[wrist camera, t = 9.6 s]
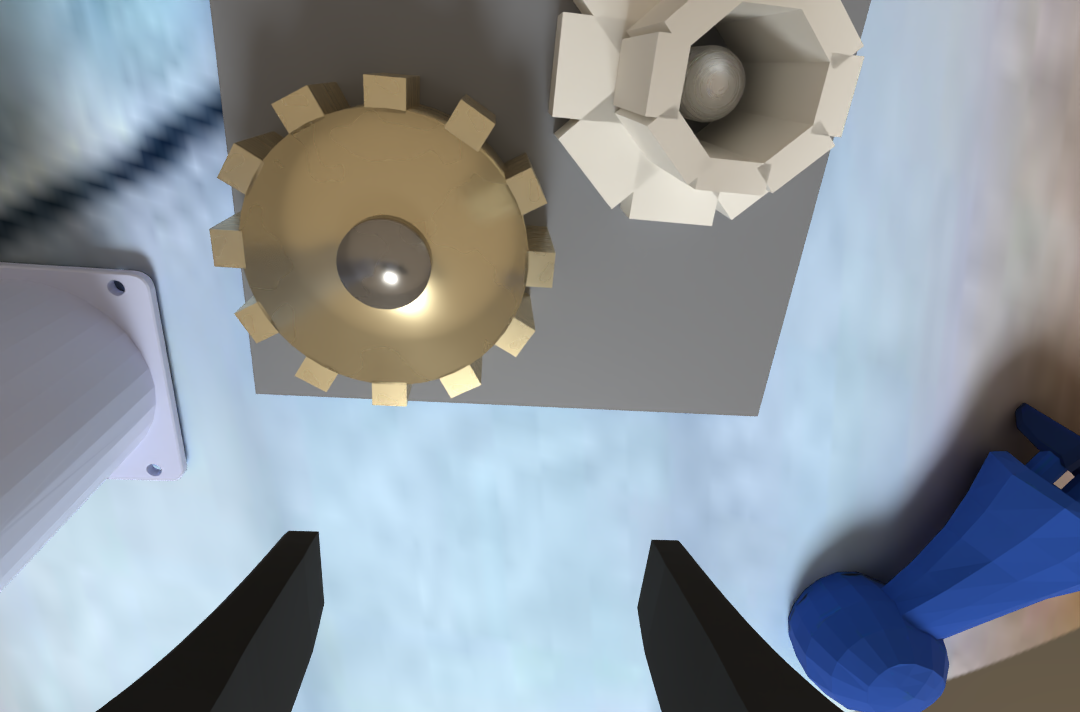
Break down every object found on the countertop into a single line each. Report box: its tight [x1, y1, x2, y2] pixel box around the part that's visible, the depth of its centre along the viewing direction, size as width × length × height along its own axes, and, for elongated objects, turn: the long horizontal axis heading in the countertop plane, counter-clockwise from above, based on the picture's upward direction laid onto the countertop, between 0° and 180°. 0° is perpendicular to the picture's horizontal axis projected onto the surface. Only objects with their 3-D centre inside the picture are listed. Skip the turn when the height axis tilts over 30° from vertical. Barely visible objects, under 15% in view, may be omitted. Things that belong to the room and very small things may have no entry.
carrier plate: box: [210, 0, 871, 416], centre depth 18 cm, size 18×22×1 cm
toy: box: [788, 403, 1080, 712], centre depth 25 cm, size 7×6×15 cm
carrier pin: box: [679, 45, 745, 122], centre depth 16 cm, size 2×2×3 cm
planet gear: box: [548, 0, 864, 226], centre depth 16 cm, size 8×8×6 cm
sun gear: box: [209, 73, 556, 406], centre depth 18 cm, size 9×9×4 cm
